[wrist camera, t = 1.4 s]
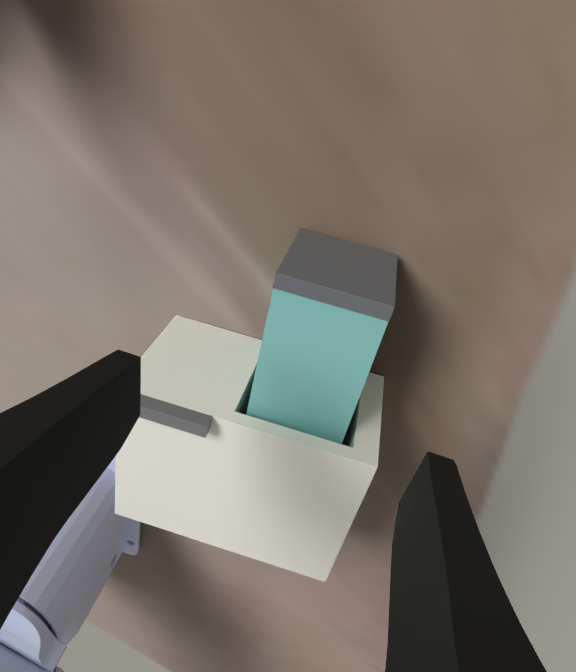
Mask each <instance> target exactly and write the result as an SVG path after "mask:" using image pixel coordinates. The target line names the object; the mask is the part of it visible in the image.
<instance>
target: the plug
mask: <svg viewBox="0 0 576 672" xmlns="http://www.w3.org/2000/svg"><path fill="white" fill-rule="evenodd" d="M397 256H398V255H395V254H392V253H388V252H384V251H381V250H377V249H374V248H370V247H367V246H363V245H359V244H356V243H352V242H349V241H345V240H342V239H338V238H334V237H331V236H327V235H324V234H320V233H317V232H313V231H309V230H306V229H302V228H301V229H300V230H299V232H298V234H297V236H296V238H295V239H294V241H293V243H292V245H291V247H290V248H289V250H288V252H287V254H286V256H285V257H284V259H283V261H282V263H281V265H280V266H279V268H278V270H277V272H276V275H275V280H274V285H273V293H272V297H271V302H270V306H269V311H268V316H267V320H266V325H265V329H264V334H263V339H262V343H261V348H260V353H259V357H258V362H257V366H256V371H255V376H254V380H253V385H252V390H251V394H250V399H249V403H248V408H247V413H246V415H248V416H251V417H254V418H258V419H261V420H264V421H267V422H271V423H274V424H277V425H280V426H284V427H287V428H290V429H293V430H297V431H300V432H303V433H306V434H310V435H313V436H316V437H319V438H323V439H326V440H329V441H332V442H336V443H339V444H342V442H343V439H344V437H345V434H346V431H347V429H348V426H349V423H350V421H351V418H352V416H353V413H354V410H355V408H356V405H357V403H358V400H359V397H360V395H361V392H362V389H363V387H364V384H365V382H366V379H367V376H368V374H369V371H370V369H371V366H372V363H373V361H374V358H375V355H376V353H377V350H378V348H379V345H380V342H381V340H382V337H383V335H384V332H385V329H386V327H387V324H388V322H389V321H390V318H391V316H392V313H393V310H394V308H395V296H396V276H397Z"/></svg>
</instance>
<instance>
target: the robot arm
mask: <svg viewBox="0 0 576 672" xmlns="http://www.w3.org/2000/svg"><path fill="white" fill-rule="evenodd" d="M140 401H141V357H139V356H136V355H133V354H130V353H127V352H124V351H121V350H117V351H115V352H113V353H111V354H109V355H107V356H106V357H104V358H102V359H100V360H99V361H97V362H95V363H93V364H92V365H90V366H88V367H86V368H85V369H83V370H81V371H79V372H78V373H76V374H74V375H72V376H71V377H69V378H67V379H65V380H63V381H62V382H60V383H58V384H56V385H54V386H52V387H51V388H49V389H47V390H45V391H43V392H41V393H40V394H38V395H36V396H34V397H32V398H30V399H28V400H26V401H24V402H22V403H20V404H18V405H16V406H14V407H12V408H10V409H8V410H6V411H4V412H2V413H0V672H64V671H63V670H62V669H61V668H59V667H57V666H56V665H57V664H58V662H59V660H60V658H61V657H62V655H63V653H64V651H65V649H66V648H67V647H66V645H67V644H68V643H69V642H70V641H71V640H72V639H73V638H74V637H75V635H76V634H77V633H78V631H79V630H80V628H81V626H82V624H83V623H84V621H85V619H86V617H87V615H88V614H89V612H90V610H91V608H92V606H93V605H94V603H95V601H96V599H97V597H98V595H99V594H100V592H101V590H102V588H103V586H104V585H105V583H106V581H107V579H108V577H109V576H110V574H111V572H112V570H113V568H114V567H115V565H116V563H117V561H118V559H119V557H120V556H121V554H122V552H123V553H126V554H129V555H136V554H137V553H138V551H139V544H140V529H141V522H139V521H136V520H133V519H130V518H127V517H124V516H121V515H118V514H115V463H116V455H117V453H118V452H119V451H120V449H121V448H122V446H123V444H124V442H125V441H126V439H127V437H128V436H129V434H130V432H131V430H132V429H133V427H134V425H135V423H136V421H137V420H138V418H139V416H140ZM385 672H546V670H545V668H544V666H543V665H542V663H541V661H540V659H539V658H538V656H537V654H536V652H535V650H534V648H533V646H532V645H531V643H530V641H529V639H528V637H527V635H526V633H525V631H524V630H523V628H522V626H521V624H520V622H519V620H518V618H517V616H516V614H515V612H514V610H513V608H512V606H511V603H510V601H509V599H508V597H507V595H506V593H505V591H504V588H503V586H502V584H501V582H500V580H499V577H498V575H497V573H496V571H495V568H494V566H493V564H492V561H491V559H490V556H489V554H488V551H487V549H486V546H485V544H484V542H483V539H482V537H481V534H480V532H479V529H478V526H477V524H476V521H475V518H474V516H473V513H472V510H471V507H470V505H469V502H468V499H467V496H466V493H465V490H464V487H463V484H462V481H461V478H460V475H459V472H458V469H457V466H456V464H455V462H454V460H452V459H449V458H446V457H443V456H440V455H437V454H434V453H431V452H427V454H426V455H425V457H424V459H423V461H422V463H421V464H420V466H419V468H418V470H417V471H416V473H415V475H414V477H413V479H412V480H411V482H410V484H409V486H408V488H407V489H406V491H405V493H404V495H403V496H402V498H401V500H400V502H399V506H398V512H397V518H396V523H395V530H394V536H393V543H392V559H391V581H390V604H389V628H388V647H387V659H386V669H385Z"/></svg>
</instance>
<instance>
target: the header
mask: <svg viewBox="0 0 576 672" xmlns="http://www.w3.org/2000/svg"><path fill="white" fill-rule="evenodd" d="M261 343H262V340H259V339H256V338H252V337H249V336H246V335H242V334H239V333H236V332H232V331H229V330H225V329H222V328H219V327H215V326H212V325H209V324H205V323H202V322H198V321H195V320H192V319H188V318H185V317H182V316H178V315H176V316H175V317H174V318H173V319H172V320H171V322H170V323H169V324H168V325H167V326H166V328H165V329H164V330H163V331H162V333H161V334H160V335H159V336H158V337H157V339H156V340H155V341H154V342H153V343H152V345H151V346H150V347H149V348H148V349H147V351H146V352H145V353H144V354H143V355H142V357H141V401H140V416H139V418H138V420H137V421H136V423H135V425H134V427H133V429H132V430H131V432H130V434H129V436H128V437H127V439H126V441H125V442H124V444H123V446H122V448H121V449H120V451H119V452H118V453H117V455H116V463H115V514H118V515H121V516H124V517H127V518H130V519H133V520H136V521H139V522H142V523H146V524H149V525H152V526H155V527H158V528H161V529H164V530H167V531H170V532H173V533H176V534H179V535H182V536H185V537H189V538H192V539H195V540H198V541H201V542H204V543H207V544H210V545H213V546H216V547H219V548H222V549H225V550H228V551H232V552H235V553H238V554H241V555H244V556H247V557H250V558H253V559H256V560H259V561H262V562H265V563H268V564H271V565H275V566H278V567H281V568H284V569H287V570H290V571H293V572H296V573H299V574H302V575H305V576H308V577H311V578H314V579H317V580H321V581H324V582H325V581H326V579H327V577H328V575H329V573H330V570H331V568H332V566H333V564H334V562H335V559H336V557H337V555H338V553H339V551H340V549H341V546H342V544H343V542H344V540H345V538H346V535H347V533H348V531H349V529H350V527H351V524H352V522H353V520H354V518H355V516H356V514H357V511H358V509H359V507H360V505H361V503H362V500H363V498H364V496H365V494H366V492H367V490H368V487H369V485H370V483H371V481H372V479H373V476H374V474H375V472H376V470H377V468H378V457H379V443H380V429H381V415H382V401H383V387H384V376H381V375H377V374H374V373H370V372H369V374H368V376H367V379H366V382H365V384H364V387H363V389H362V392H361V395H360V397H359V400H358V403H357V405H356V408H355V410H354V413H353V416H352V418H351V421H350V423H349V426H348V429H347V431H346V434H345V437H344V439H343V442H342V444H339V443H336V442H332V441H329V440H326V439H323V438H319V437H316V436H313V435H310V434H306V433H303V432H300V431H297V430H293V429H290V428H287V427H284V426H280V425H277V424H274V423H271V422H267V421H264V420H261V419H258V418H254V417H251V416H248V415H246V413H247V408H248V403H249V399H250V394H251V390H252V385H253V380H254V376H255V371H256V366H257V362H258V357H259V353H260V348H261Z"/></svg>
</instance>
